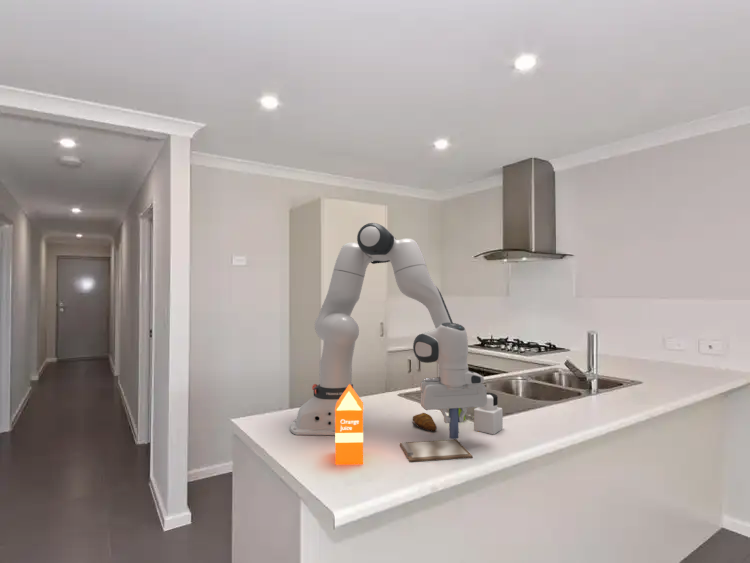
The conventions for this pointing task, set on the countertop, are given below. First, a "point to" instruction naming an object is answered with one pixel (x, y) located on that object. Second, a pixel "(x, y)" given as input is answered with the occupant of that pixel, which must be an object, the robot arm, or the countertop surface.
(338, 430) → the orange juice
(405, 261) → the robot arm
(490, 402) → the medicine bottle
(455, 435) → the marker
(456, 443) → the metal serving tray
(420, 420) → the croissant
